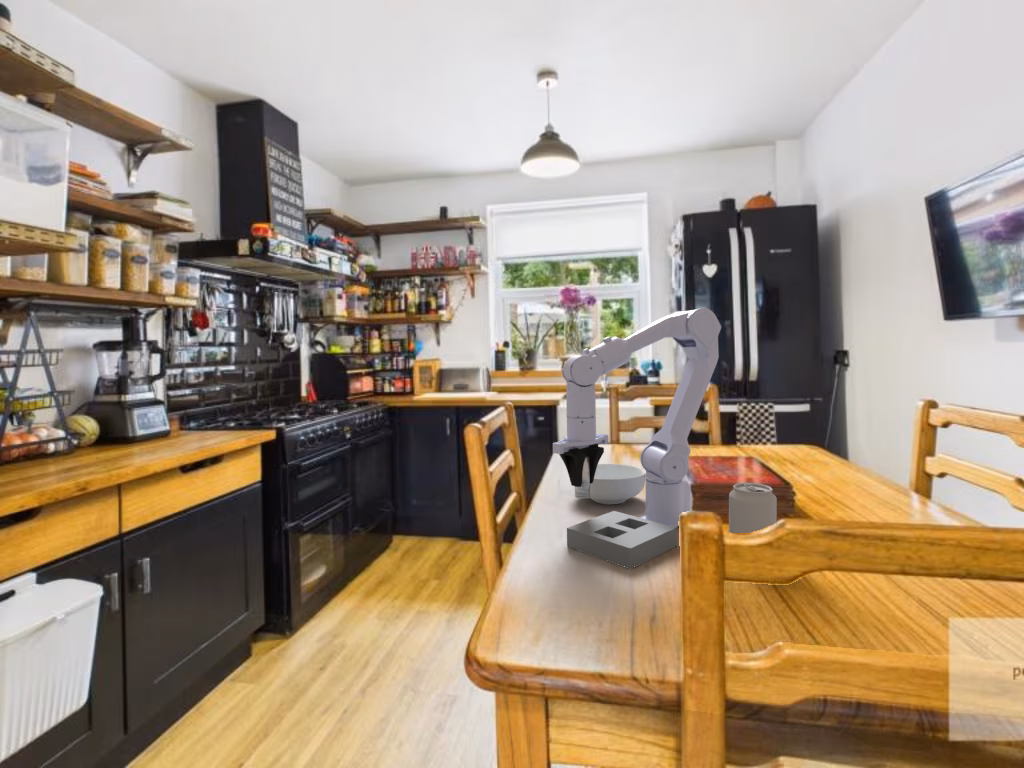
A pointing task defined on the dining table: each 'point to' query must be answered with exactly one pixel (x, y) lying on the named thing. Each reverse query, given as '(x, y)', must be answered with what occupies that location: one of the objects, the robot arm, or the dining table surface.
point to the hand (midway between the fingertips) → (582, 484)
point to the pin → (584, 482)
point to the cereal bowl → (616, 483)
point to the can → (751, 507)
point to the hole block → (622, 538)
